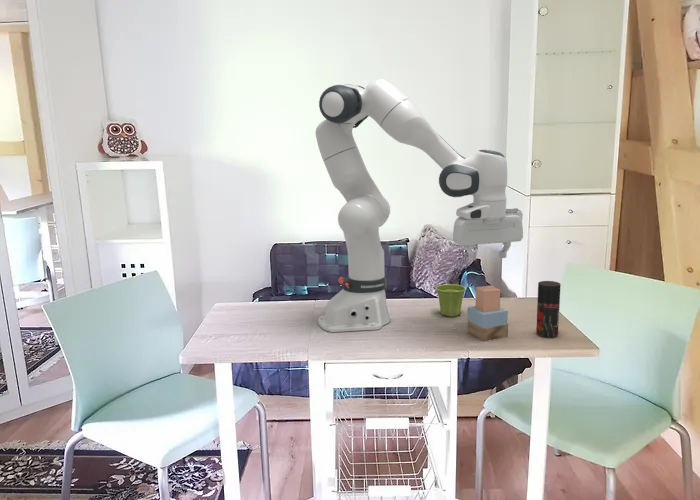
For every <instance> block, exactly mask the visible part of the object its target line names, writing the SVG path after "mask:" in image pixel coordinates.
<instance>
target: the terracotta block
mask: <svg viewBox="0 0 700 500" xmlns="http://www.w3.org/2000/svg"><path fill="white" fill-rule="evenodd" d="M475 306H476V308H477V309H479V310H481V311H482V312H491V311H500V308H501V289H500V288H497V286H496V287H495V286H493V285H484V286H475Z"/></svg>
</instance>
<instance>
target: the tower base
mask: <svg viewBox="0 0 700 500" xmlns="http://www.w3.org/2000/svg"><path fill="white" fill-rule="evenodd" d="M467 334H468V335H471V336H473V337H475V338H477V339H479V340H481V341H483V342H485V341H486V342H490V341H489V340H491V341H494V339H495V340H499V339H503V338H507V337H508V335H509V324H508V323H507V325H501V326H495V327H490V328H484V329H483V328H481V327H479V326H477V325H475V324H474V323H472V322H470V321H468V320H467Z"/></svg>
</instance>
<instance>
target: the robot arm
mask: <svg viewBox="0 0 700 500" xmlns="http://www.w3.org/2000/svg"><path fill="white" fill-rule="evenodd" d="M318 105H319V106H318V107H319V112H320V113H321V115H322V116H323V118H325V119H324V120H323V121H321V122H320V123H319V124H318V125H317V127H316V129H315V138H316V143H317V147H318V149H319V152H320V156H321V159H322V161H323V163H324V166H325V168H326V170H327V171H326V172H327V173H328V176H329V178H330V180H331V183H332V186H333V187H334V188H335V189H337V190H338V191H339V193H340V194H341V195H342V197H343V198H344V199H345V202H346V203H345V204H344V205H343V206H342V207H341V209H339V212H338V216H337V222H338V223H337V224H338V226H339V227H340V228H339V229H341V231H342V232H343V237H344V240H345V245H346V249H347V261H348V265H347V266H348V276H347V277H346V278H345V277H343V276H339V278H338V279H337V281H338V283H339V284H340V285H342V289H341V290H340V291H339V292H338V293H336V294H335V295H334V296H333V297H331V298H330V299H329V300H328V301H327V302H326V304H325V310H324V315H321V316H319V317H318V318H317V319H318V320H317V324H318V326H319V327H320V328H321V329H322V330H323V331H327V332H330V333H338V332H339V333H341V332H342V333H343V332H356V331H372V330H373V331H375V330H380V329H382V327H383V326H386V325H387V324H389V323H390V322H391V318H390V314H389V310H388V303H387V297H386V294H387V277H386V275H385V250H384V248H383V247H382V243H381V239H380V232H379V231H380V230H379V229H380V227H383V226H384V224H386V222H387V221H388V219H389V217H390V214H391V204H390V203H389V201H388V200H387V199H386V198H385V196H383V194H382V192H381V191H380V189H379V187H378V186H377V184H376V183H375V181H374V179H373V178H372V176H371V175H370V173H369V171H368V170H367V166H366V164H365V162H364V159H363V158H362V155H361V153H360V150H359V148H358V146H357V143H356V141H355V138H354V136H353V129H357V128H358V127H359V126H360V125H361V124H362V123H363V122H364V121H365V120H366V119H368V117H369V118H371V119H373V121H374V122H375V123H376V124H378V126H379V127H380V128H381V129H382V130H383V131H384V132H385V133H386V134H387V135H388V136H389V137H391V138H392V139H393V140H395V141H397V142H398V143H400V144H404V145H407V146H411V147H415V148H417V149H418V150H421V151H422V152H423V153H424V154H427V156H429V157H430V158H431V159H432V160H433V161H434V163H436V164H437V165H438V166H439V167H440V168H441V169H442V170H440V171H441V172H440V173H439V176H438V185H439V187H440V190H441V191H442V192H443V194H445V195H446V196H449V197H452V198H462V197H464V196H473V198H472V201H473V202H471V203H468V204H466V205H464V206H461V207H459V208H457V209H456V211H455V212H456V213H455V214H456V216H457V217H456V219H455V220H454V223H453V230H452V241H453V243H454V244H455V245H457V246H461V247H463V246H464V248H465V250H466V252H467V254H468V261H470V262H471V261H477V253H474V252H473V249H474V246H475V245H477V246H478V245H488V244H491V245H492V244H501V243H502V246H503V247H502V249H500V250H499V251H498V258H500V259H507V256H508V255H507V254H508V251H509V249H510V248H511V246H512V245H511V244H512V243H514V242H515V243H516V242H521V241H522V239H523V238H524V225H523V216H524V215H523V212H522V211H521V209H519V208H507V194H506V188H507V186H508V162H507V158H506V156H505V155H504V154H503V153H501V152H499V151H496V150H491V149H479V150H477V151H476V152H475V153H474V154H472V155H469V156H468V157H464V156H463V155H461V154H459V152H457V150H455V149H454V148H453V147H452V146H451V145H450V144H449V143H448V142H447V141H446V140H445V139H444V138H443V137H441V135H439V134H438V132H437V131H436V130H435V129H434V127H432V125H431V124H430V123H429V122H428V120H427V119H426V117H425V116H424V115H423V113H422V112H421V111H420V110H419V109H418V108H417V106H416V104H414V103H413V101H412V100H410V98H409V97H408V96H407V95H406V94H404V93H403V92H402V91H401V90H400V89H399V88H398V87H396V86H395V85H394V84H392V83H391V82H389V81H388V80H386V79H383V78H379V79H378V78H377V79H375V80H373V81H371V82H370V83H369V84H367V85H366V86H365V87H363V86H361V85H356V84H348V83H347V84H346V83H345V84H335V85H331V86H329V87H327V88H326V89H325V90H324V91H323V92H322V93H321V95H320V97H319V100H318Z"/></svg>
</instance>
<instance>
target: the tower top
mask: <svg viewBox="0 0 700 500" xmlns="http://www.w3.org/2000/svg"><path fill="white" fill-rule="evenodd" d="M466 311H467V312H466V313H467V314H466V315H467V317H466V318H467V319H466V320H467V322H468V321H470V322H472V323H474V324H475V325H477V326H479V327H481V328H483V329H484V328H490V327H495V326H501V325H507V324H508V316H509V315H508V313H509V312H508V311H509V310H507V309H504V308H502V307H500V311H491V312H482V311H481V310H479V309H477V308H476V305H472V306H467V310H466Z"/></svg>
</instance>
